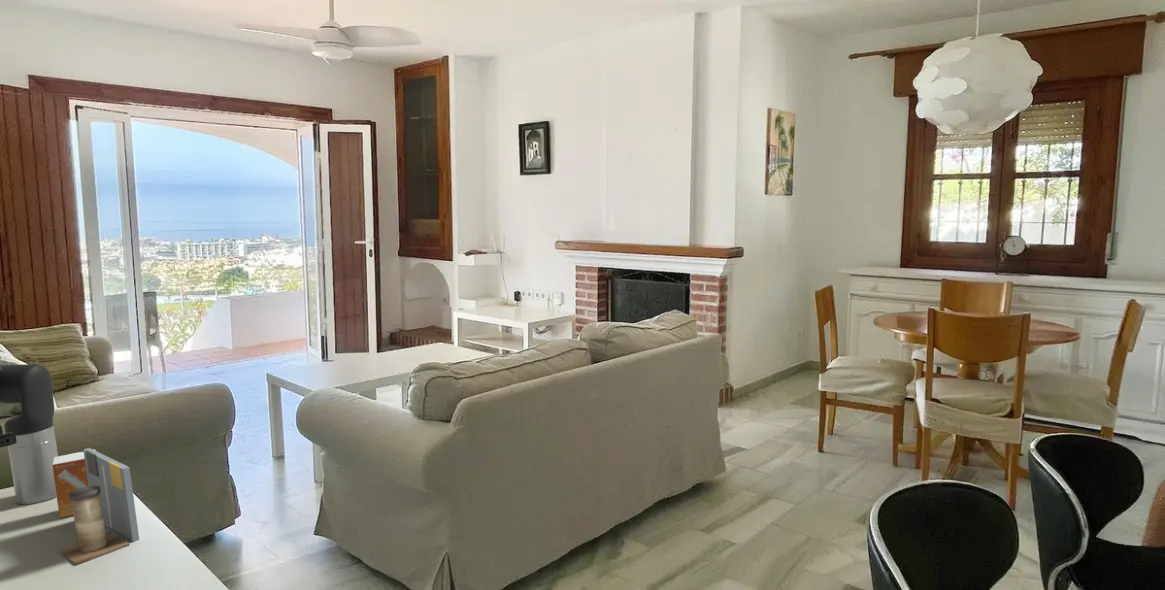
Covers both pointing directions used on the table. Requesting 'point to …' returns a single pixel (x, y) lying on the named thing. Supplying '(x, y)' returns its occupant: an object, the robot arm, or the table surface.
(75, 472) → the small box
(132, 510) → the panel
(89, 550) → the post
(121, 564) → the table surface
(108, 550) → the walnut pad
